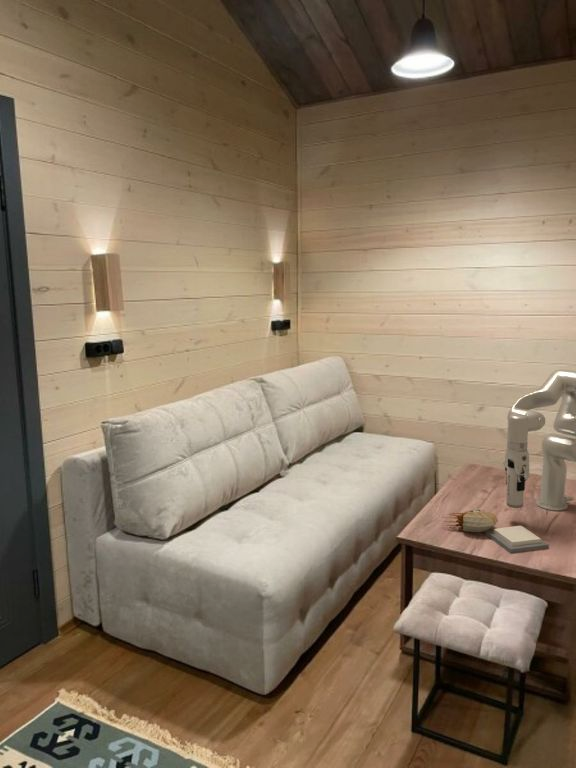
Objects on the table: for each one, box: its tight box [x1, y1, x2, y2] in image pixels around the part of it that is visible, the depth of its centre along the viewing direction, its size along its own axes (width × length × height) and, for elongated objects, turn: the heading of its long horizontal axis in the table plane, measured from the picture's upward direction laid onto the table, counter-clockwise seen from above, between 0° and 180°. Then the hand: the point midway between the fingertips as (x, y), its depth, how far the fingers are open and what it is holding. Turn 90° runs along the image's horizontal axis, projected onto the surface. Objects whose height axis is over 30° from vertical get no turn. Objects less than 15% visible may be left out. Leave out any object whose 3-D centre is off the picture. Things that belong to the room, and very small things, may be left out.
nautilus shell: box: [443, 509, 499, 533], centre depth 232 cm, size 8×22×15 cm
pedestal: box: [485, 525, 550, 554], centre depth 221 cm, size 16×16×3 cm
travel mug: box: [505, 459, 524, 509], centre depth 235 cm, size 6×7×20 cm
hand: (515, 487), depth 236 cm, fingers closed on travel mug, 6 cm apart
